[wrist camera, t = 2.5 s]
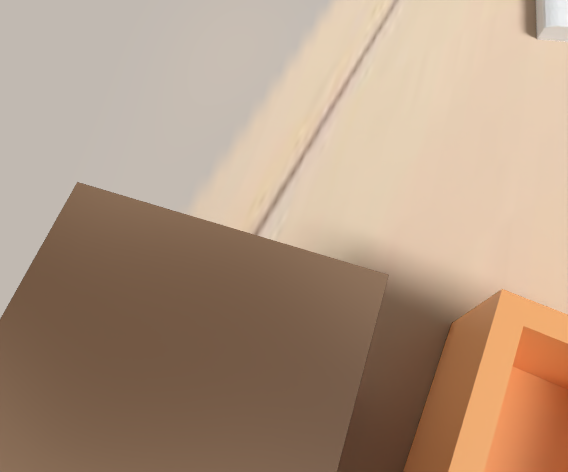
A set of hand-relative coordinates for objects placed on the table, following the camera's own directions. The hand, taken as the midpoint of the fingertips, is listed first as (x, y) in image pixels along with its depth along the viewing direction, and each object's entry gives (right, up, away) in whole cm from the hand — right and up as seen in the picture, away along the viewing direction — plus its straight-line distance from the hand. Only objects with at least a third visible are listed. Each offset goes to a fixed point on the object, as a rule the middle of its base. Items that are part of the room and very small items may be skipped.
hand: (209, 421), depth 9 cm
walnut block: (+1, -3, +8) cm, 8 cm away
